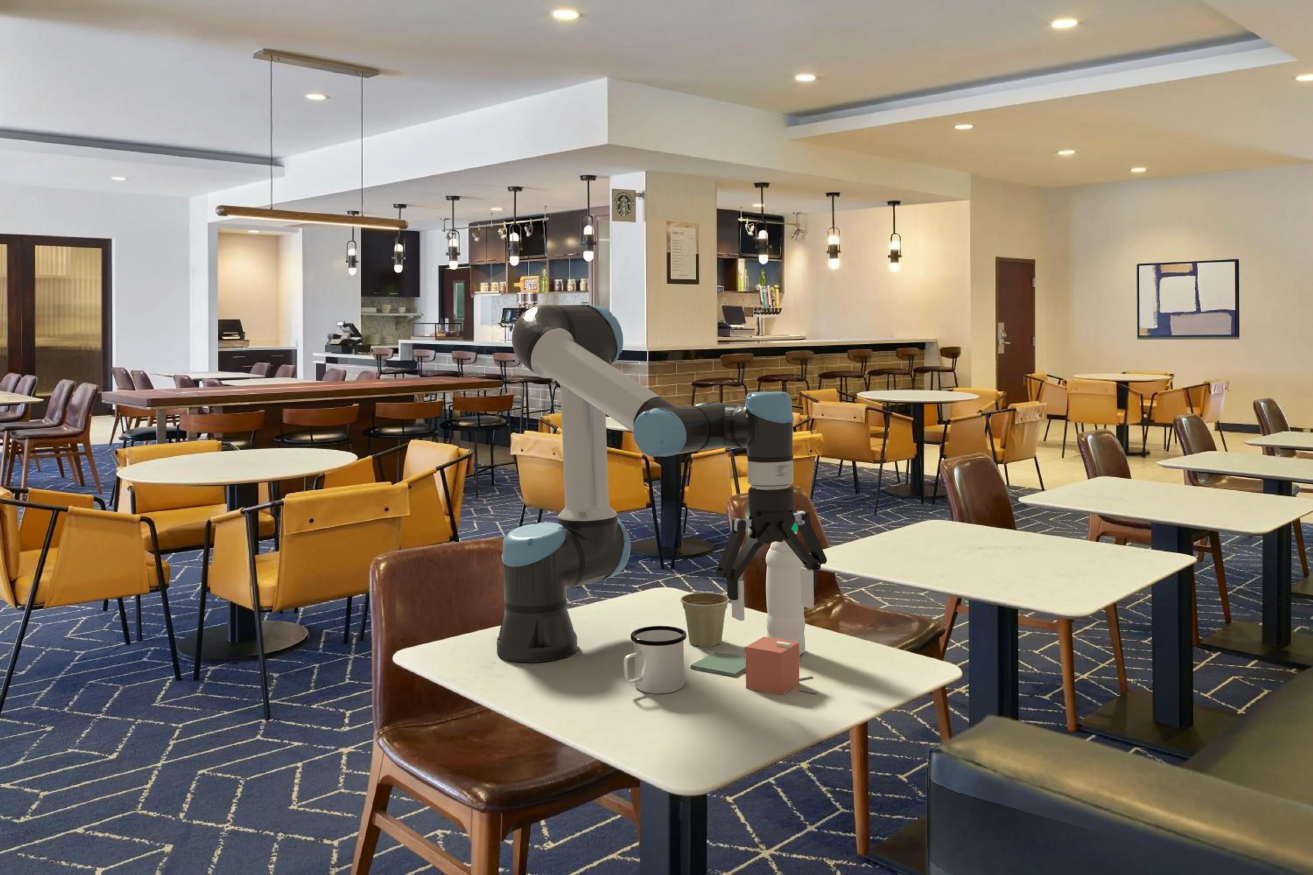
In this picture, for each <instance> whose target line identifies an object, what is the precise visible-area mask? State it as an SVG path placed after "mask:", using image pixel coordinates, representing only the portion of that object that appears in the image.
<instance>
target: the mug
mask: <svg viewBox="0 0 1313 875" xmlns="http://www.w3.org/2000/svg"><path fill="white" fill-rule="evenodd" d="M687 637H688V633H687V632H686V630H684V629H682V628H680V627H675V626H668V625H651V626H644V627H640V628H637V629H635V630H633V631H631V633H630V640H631V641H632V642H633V653H630V654H627V655H625V657H624V659H623V674H624V675H623V676H624V681H625V682H626V683H628V684H634V687H635V688H636V689H638V690H639V691H641V692H643V693H647V694H655V695H659V694H660V695H662V694H663V695H664V694H671V693H675V692H677V691H679V690H681V689H682V688H684V686H685V653H684V652H685V651H684V650H685V648H684V647H685V646H684V645H685V644H684V643H685V642H684V641H685V640H686V639H687ZM631 658H634V661H633V662H634V665H633V667H634V678H632V679H629V669H628V667H629V660H630V659H631Z"/></svg>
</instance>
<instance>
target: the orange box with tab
mask: <svg viewBox="0 0 1313 875" xmlns="http://www.w3.org/2000/svg"><path fill="white" fill-rule="evenodd" d="M745 657H746V671H745V688H746V689H751V690H755V691H761V692H765V693H772V694H777V695H781V696H782V695H784V694H785V693H787V692H788V691H789V690H790V689H792V688H794V687H796V686H798V684H800V681H799V679H800V655H799V642H794V641H788V640H782V639H775V638H769V637H767V636H762V637H761V638H759V639H756V640H755V641H753V642H752V643H750V644H748V645H746V646H745Z"/></svg>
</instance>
